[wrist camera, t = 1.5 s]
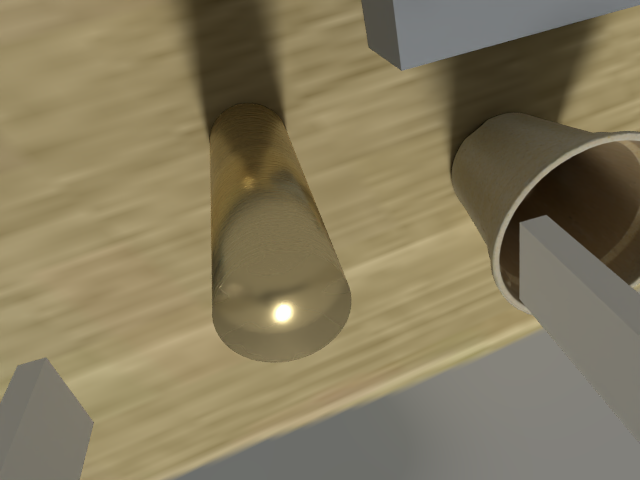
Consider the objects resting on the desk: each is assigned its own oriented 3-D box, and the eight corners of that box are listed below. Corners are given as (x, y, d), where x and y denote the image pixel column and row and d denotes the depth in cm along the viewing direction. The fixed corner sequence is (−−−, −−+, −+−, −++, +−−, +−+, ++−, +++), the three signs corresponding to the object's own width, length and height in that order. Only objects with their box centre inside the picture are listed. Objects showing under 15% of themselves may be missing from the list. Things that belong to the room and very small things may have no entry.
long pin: (224, 185, 27) (237, 377, 15) (198, 115, 25) (191, 276, 13) (295, 165, 27) (361, 339, 16) (276, 94, 25) (337, 234, 13)
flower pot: (404, 123, 27) (476, 191, 20) (567, 52, 27) (699, 96, 20) (442, 253, 32) (510, 345, 25) (579, 194, 32) (688, 271, 25)
